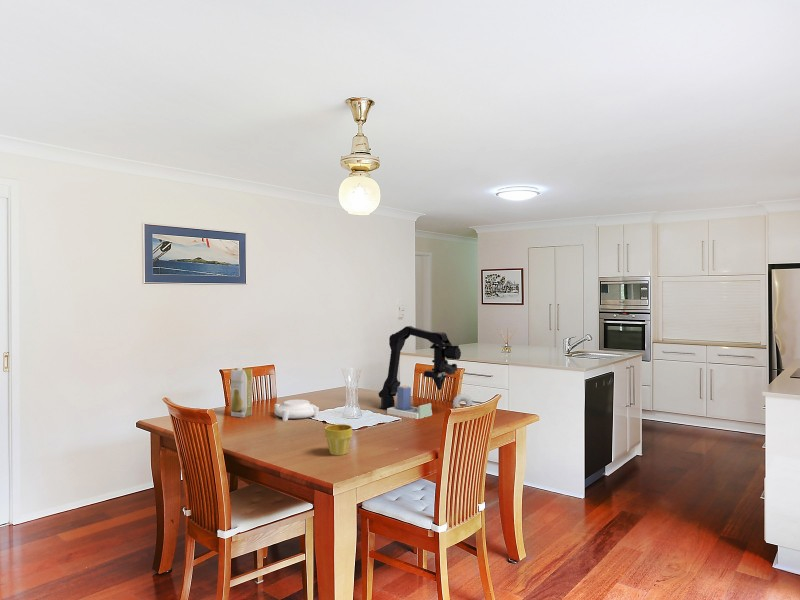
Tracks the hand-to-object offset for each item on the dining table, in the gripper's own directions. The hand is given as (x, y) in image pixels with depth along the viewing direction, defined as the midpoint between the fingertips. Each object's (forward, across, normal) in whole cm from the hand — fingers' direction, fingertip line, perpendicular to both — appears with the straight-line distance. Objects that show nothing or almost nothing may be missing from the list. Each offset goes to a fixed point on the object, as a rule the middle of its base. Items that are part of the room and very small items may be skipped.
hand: (439, 390), depth 274 cm
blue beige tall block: (+12, -6, +18) cm, 22 cm away
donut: (+13, +13, -5) cm, 19 cm away
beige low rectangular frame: (+13, -6, +14) cm, 20 cm away
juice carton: (+13, -63, +73) cm, 97 cm away
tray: (+13, -6, +13) cm, 19 cm away
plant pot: (+13, -76, -8) cm, 78 cm away
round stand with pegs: (+14, -45, +54) cm, 71 cm away
